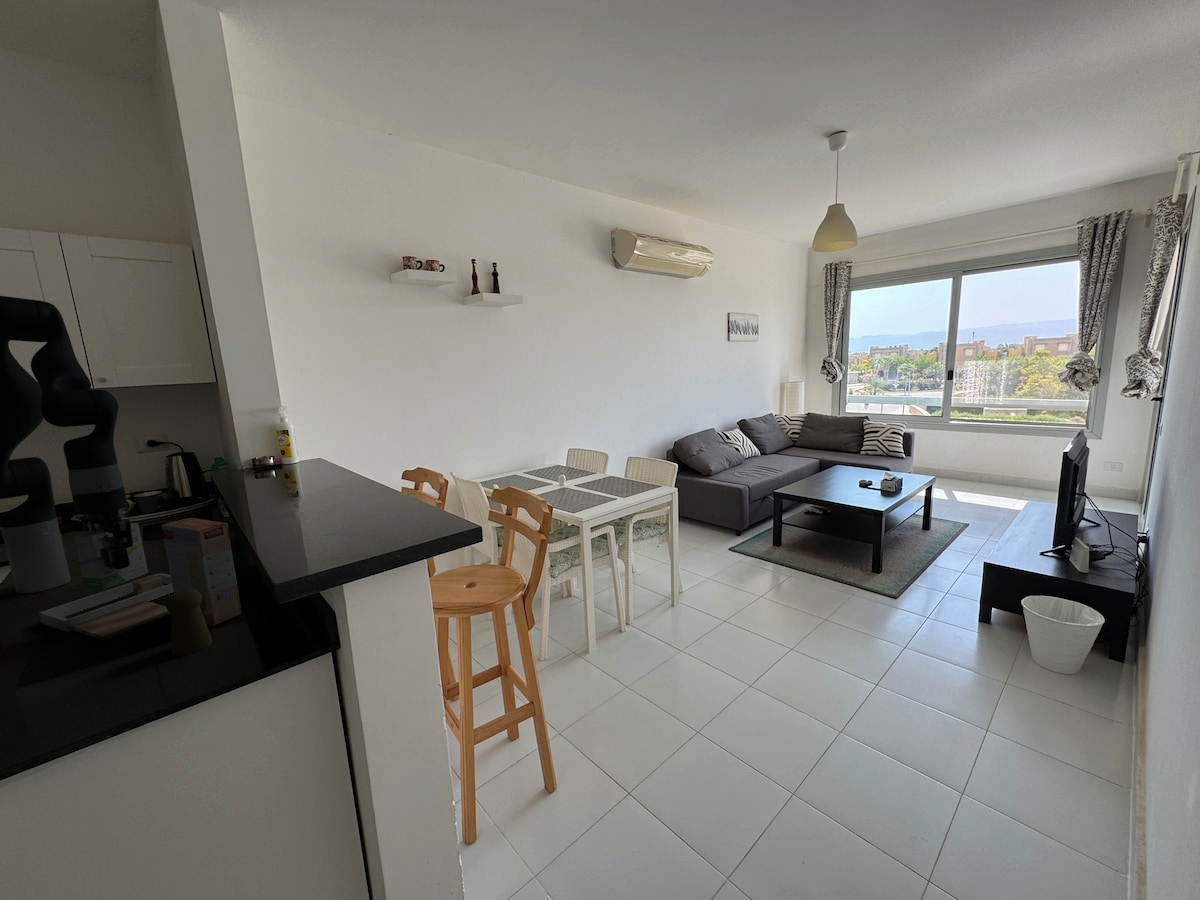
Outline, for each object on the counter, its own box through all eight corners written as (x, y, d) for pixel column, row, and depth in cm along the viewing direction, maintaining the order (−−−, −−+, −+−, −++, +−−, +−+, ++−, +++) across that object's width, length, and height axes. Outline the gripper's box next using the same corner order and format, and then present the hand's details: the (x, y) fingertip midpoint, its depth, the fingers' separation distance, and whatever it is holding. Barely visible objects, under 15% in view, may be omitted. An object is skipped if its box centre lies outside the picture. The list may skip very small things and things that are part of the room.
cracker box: (244, 614, 104) (228, 521, 101) (212, 628, 99) (195, 530, 96) (208, 603, 110) (192, 515, 107) (176, 615, 105) (158, 523, 101)
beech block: (134, 597, 115) (131, 581, 115) (155, 590, 119) (152, 574, 118) (143, 599, 114) (140, 583, 113) (164, 592, 117) (161, 576, 117)
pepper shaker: (178, 659, 88) (167, 603, 86) (166, 650, 91) (155, 596, 89) (218, 643, 93) (208, 589, 91) (205, 635, 96) (195, 583, 94)
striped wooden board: (73, 630, 100) (72, 626, 100) (145, 604, 111) (144, 600, 111) (103, 641, 95) (102, 636, 95) (175, 612, 106) (174, 608, 106)
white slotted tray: (41, 623, 104) (38, 612, 103) (162, 582, 123) (160, 572, 123) (67, 632, 99) (65, 621, 99) (189, 588, 119) (187, 578, 119)
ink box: (131, 572, 106) (120, 521, 104) (150, 573, 105) (139, 521, 103) (83, 590, 98) (71, 534, 96) (103, 591, 97) (90, 535, 95)
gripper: (55, 490, 98) (73, 568, 100) (91, 494, 92) (109, 577, 95) (103, 482, 105) (119, 555, 107) (140, 485, 99) (155, 563, 102)
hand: (114, 565), depth 101 cm, fingers closed on ink box, 5 cm apart
